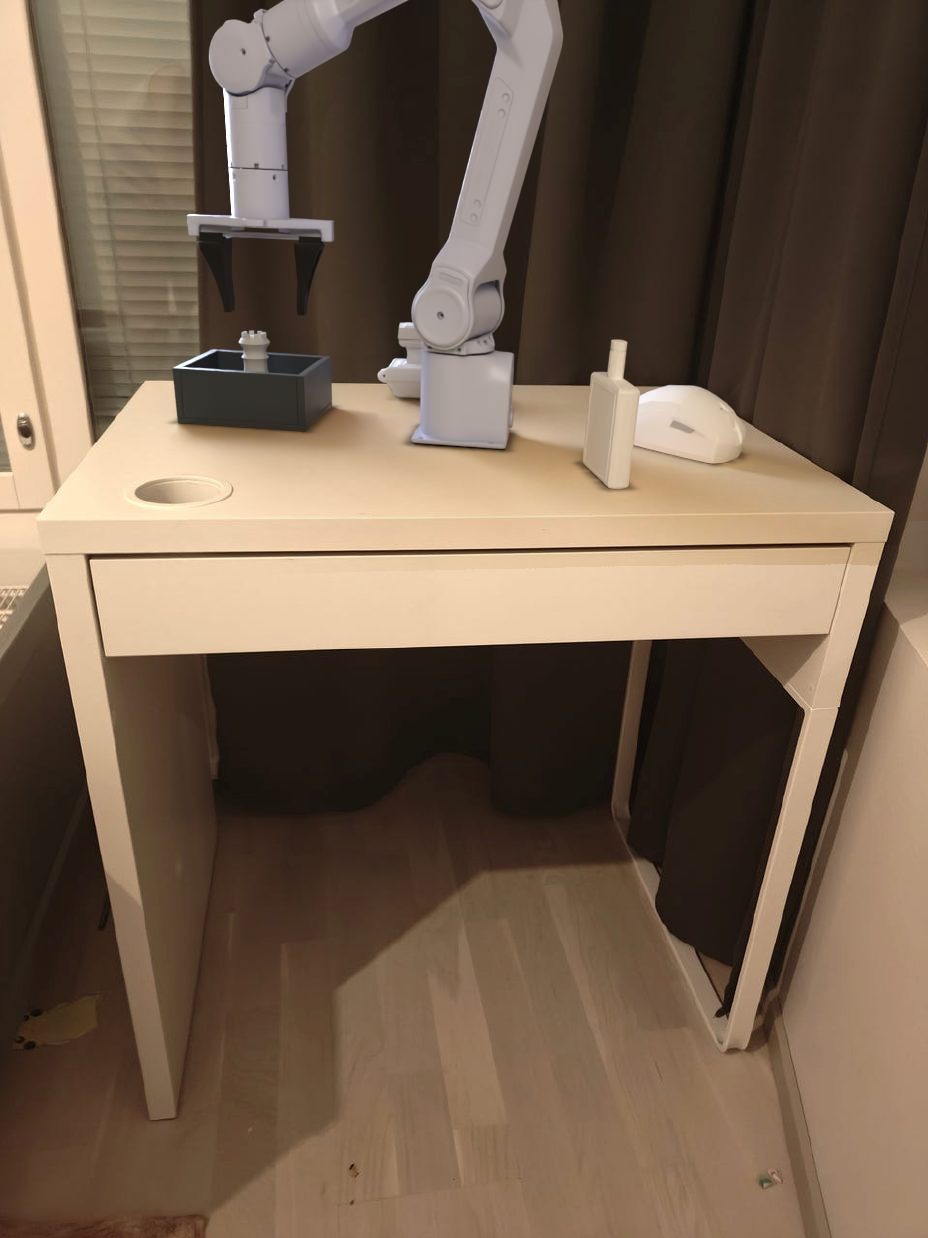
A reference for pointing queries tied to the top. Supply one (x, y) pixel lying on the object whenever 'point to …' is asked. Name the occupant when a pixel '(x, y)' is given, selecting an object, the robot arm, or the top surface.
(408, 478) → the top surface
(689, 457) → the computer mouse
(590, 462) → the perfume bottle
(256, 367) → the rook chess piece
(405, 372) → the white mechanical part
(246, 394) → the storage bin
